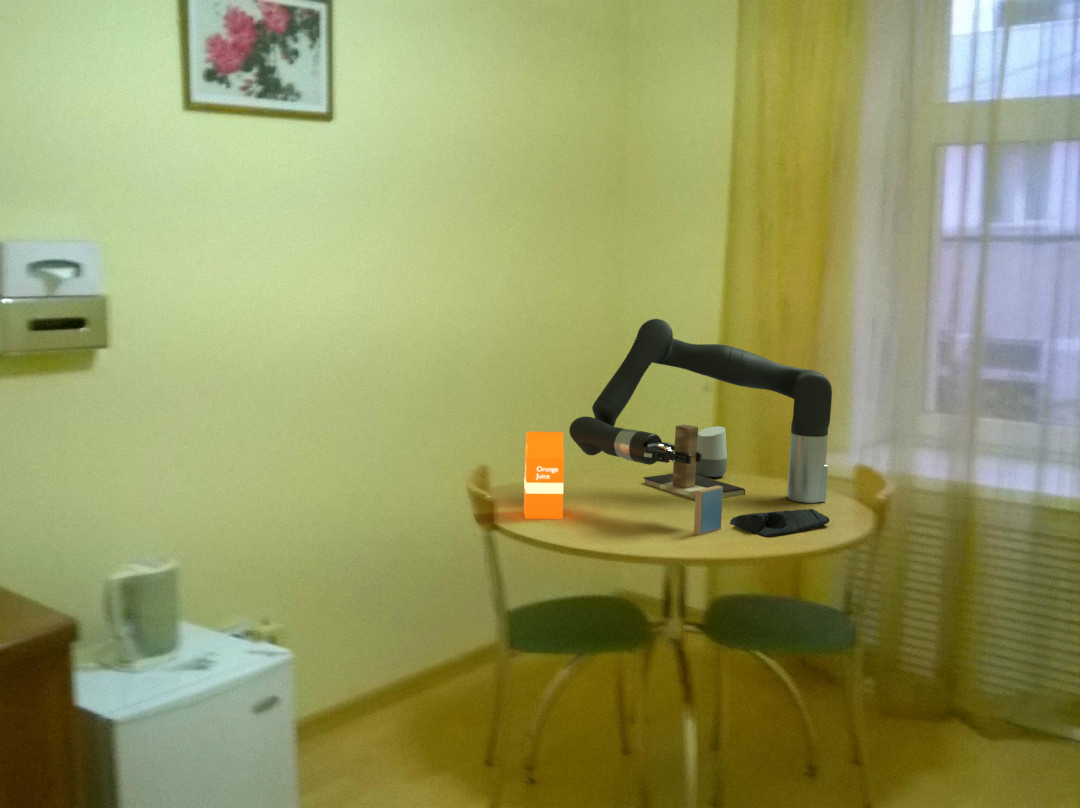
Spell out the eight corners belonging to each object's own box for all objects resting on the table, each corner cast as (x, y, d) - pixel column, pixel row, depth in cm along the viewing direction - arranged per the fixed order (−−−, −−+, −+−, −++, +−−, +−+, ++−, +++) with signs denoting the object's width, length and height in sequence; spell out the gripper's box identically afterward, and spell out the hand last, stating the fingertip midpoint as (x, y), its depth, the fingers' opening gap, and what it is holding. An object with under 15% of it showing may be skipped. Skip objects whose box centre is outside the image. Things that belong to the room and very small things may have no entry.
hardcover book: (699, 503, 271) (699, 494, 271) (642, 485, 290) (643, 477, 290) (745, 496, 280) (745, 488, 280) (687, 479, 299) (688, 471, 299)
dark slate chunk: (839, 531, 247) (841, 511, 246) (762, 540, 238) (763, 519, 237) (796, 515, 261) (798, 496, 260) (722, 523, 251) (723, 503, 250)
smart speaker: (687, 473, 304) (689, 425, 302) (715, 471, 308) (717, 424, 306) (703, 480, 296) (705, 431, 294) (732, 478, 299) (734, 429, 297)
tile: (693, 533, 240) (695, 490, 239) (715, 527, 246) (717, 485, 244) (700, 535, 239) (702, 491, 237) (721, 529, 244) (723, 486, 243)
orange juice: (562, 518, 251) (564, 435, 248) (525, 518, 250) (527, 434, 247) (559, 510, 259) (562, 429, 256) (523, 510, 258) (525, 428, 255)
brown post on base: (659, 488, 247) (663, 424, 245) (676, 484, 251) (679, 422, 249) (690, 495, 241) (694, 430, 239) (706, 492, 245) (710, 428, 243)
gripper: (619, 433, 250) (677, 445, 237) (657, 428, 259) (715, 439, 247) (617, 465, 251) (675, 478, 239) (656, 458, 261) (713, 470, 248)
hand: (695, 458), depth 243 cm, fingers closed on brown post on base, 3 cm apart
